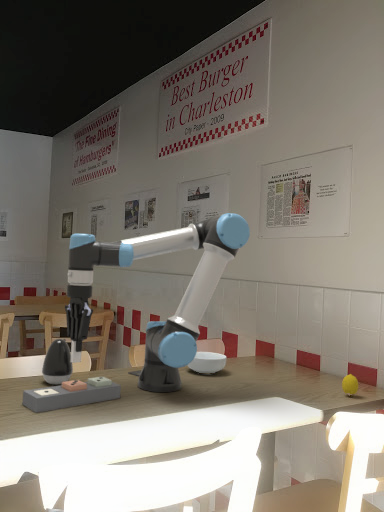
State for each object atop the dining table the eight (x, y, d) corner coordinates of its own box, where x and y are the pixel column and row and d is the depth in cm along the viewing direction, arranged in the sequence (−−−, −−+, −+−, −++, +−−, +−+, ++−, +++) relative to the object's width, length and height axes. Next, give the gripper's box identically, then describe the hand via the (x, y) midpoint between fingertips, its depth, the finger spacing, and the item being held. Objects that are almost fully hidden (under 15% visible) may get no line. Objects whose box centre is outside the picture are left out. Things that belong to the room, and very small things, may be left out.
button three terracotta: (77, 388, 151) (77, 379, 151) (86, 392, 146) (87, 383, 147) (61, 391, 147) (61, 381, 147) (70, 395, 143) (70, 385, 143)
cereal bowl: (228, 370, 203) (229, 353, 203) (222, 379, 187) (223, 360, 187) (189, 366, 207) (190, 349, 207) (179, 374, 190) (180, 356, 191)
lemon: (358, 396, 173) (359, 373, 173) (356, 399, 168) (357, 376, 168) (342, 393, 175) (343, 371, 175) (340, 397, 170) (341, 374, 170)
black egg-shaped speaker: (76, 380, 171) (78, 337, 171) (65, 387, 161) (68, 342, 161) (48, 378, 172) (51, 335, 172) (36, 385, 162) (39, 339, 162)
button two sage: (102, 384, 157) (102, 375, 157) (111, 388, 153) (112, 379, 153) (87, 387, 153) (87, 377, 153) (96, 391, 149) (97, 381, 149)
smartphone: (167, 370, 193) (139, 375, 182) (167, 372, 193) (139, 377, 182) (154, 367, 198) (126, 371, 187) (154, 369, 198) (126, 374, 187)
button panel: (104, 391, 159) (105, 379, 159) (120, 397, 153) (120, 385, 153) (22, 404, 140) (23, 390, 140) (36, 412, 134) (37, 398, 134)
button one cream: (50, 397, 144) (50, 387, 144) (59, 402, 140) (59, 392, 140) (32, 400, 141) (33, 390, 141) (41, 405, 137) (41, 394, 137)
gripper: (58, 282, 149) (54, 359, 149) (80, 285, 140) (75, 367, 139) (79, 283, 154) (75, 356, 154) (102, 286, 145) (97, 364, 144)
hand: (75, 361), depth 147 cm, fingers closed
